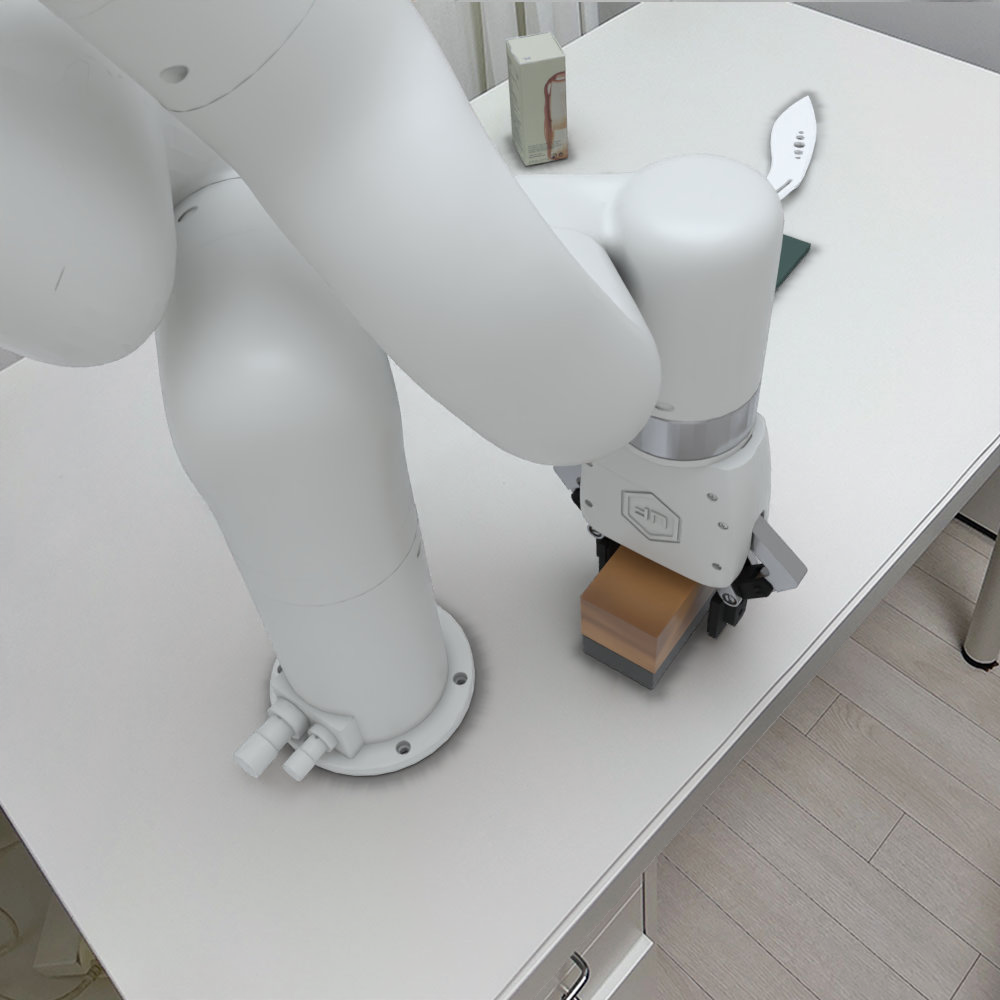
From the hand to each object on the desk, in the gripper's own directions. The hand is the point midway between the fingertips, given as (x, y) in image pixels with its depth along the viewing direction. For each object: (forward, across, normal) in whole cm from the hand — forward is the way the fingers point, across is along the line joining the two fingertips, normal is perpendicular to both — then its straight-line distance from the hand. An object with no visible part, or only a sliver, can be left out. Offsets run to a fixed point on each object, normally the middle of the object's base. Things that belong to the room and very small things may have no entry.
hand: (668, 591), depth 70 cm
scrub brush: (+1, 0, 0) cm, 1 cm away
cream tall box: (+1, -36, +38) cm, 52 cm away
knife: (+1, -16, +43) cm, 46 cm away
